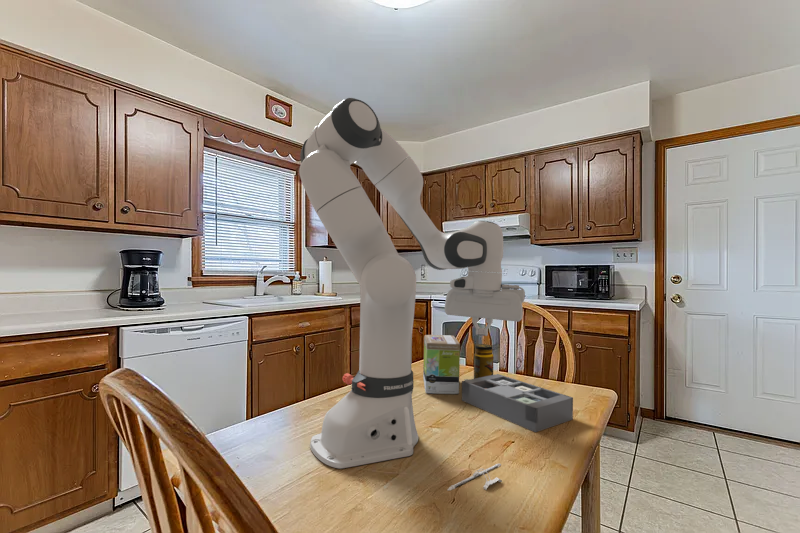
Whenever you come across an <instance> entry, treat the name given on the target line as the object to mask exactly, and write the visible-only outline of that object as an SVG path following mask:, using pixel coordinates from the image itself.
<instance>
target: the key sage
mask: <svg viewBox="0 0 800 533" xmlns="http://www.w3.org/2000/svg"><path fill="white" fill-rule="evenodd" d="M516 400H518V401H520V402H523V403H526V404H530V403H534V402H537V401H534V400H531V399H528V398H525V397H523V398H519V399H516Z"/></svg>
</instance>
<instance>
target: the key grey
mask: <svg viewBox="0 0 800 533" xmlns="http://www.w3.org/2000/svg"><path fill="white" fill-rule="evenodd" d="M496 382H498V383H501V384H504V385H506V384H510V383H512V382H509V381H506V380H500V381H496ZM497 386H498V385H495V384H494V386H493V387H497ZM510 387H513V388H515V385H513V386H510Z"/></svg>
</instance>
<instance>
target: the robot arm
mask: <svg viewBox="0 0 800 533" xmlns="http://www.w3.org/2000/svg"><path fill="white" fill-rule="evenodd" d="M299 154H300V161H301V162H300V166H299V170H298V173H299V178H300V180H301V183H302V186H303V189H304V190H305V194H306V195H307V198H308V200H309V202H310V204H311V206H312V208H313V210H314V211H315V212H316V215H317V216H318V218H319V220H320V221H321V223H322V225H323V227H324V228H325V230H326V231H327V233H328V235H329V236H330V237H329V238H331V240H332V242H333V243H334V245H335V247H336V248H337V250H338V251H339V253H340V255H341V256H342V258H343V260H344V261H345V263H346V264H347V266H348V268H349V270H350V271H351V272H352V274H353V276H354V278H355V279H356V281H357V283H358V284H359V286H360V295H359V296H360V298H359V299H360V302H359V304H360V306H359V307H360V308H359V309H360V310H359V311H360V312H359V316H360V317H359V364H358V366H359V367H358V368H359V370H357V372H356V375H355V376H354V375H352V374H350V373H348V372H347V373H344V374H343V376H342V379H341V380H342V381H343V383H345V384H346V385H349V386H350V385H351V387H350V388H351V390H350V391H349V392H348V393H346V394H345V396H343V397H342V398H341V399H340V400H339V401H337V403H336V404H334V405H333V406H332V407H331V408H330V409H329V410H327V412H326V413H325V415H324V418H323V420H322V426H321V432H320V433H318V434H315V435H312V436H311V439H310V445H309V447H310V450H311V452H312V453H313V455H314V456H315V457H316V458H317V459H318V460H319V461H320V462H322V463H323V464H324V465H327V466H328V467H332V468H336V469H345V468H346V469H347V468H351V467H357V466H362V465H367V464H373V463H378V462H384V461H389V460H390V461H391V460H395V459H399V458H405V457H410V456H412V455H413V454H414V447H415V445H417V443H418V442H419V434H418V431H417V427H416V422H415V416H414V408H413V406H414V405H413V392H414V371H413V370H412V364H413V363H412V361H413V360H412V358H413V357H412V356H413V353H412V351H413V348H412V346H413V339H412V338H413V328H414V318H415V308H416V307H415V306H416V294H417V275H416V271H415V269H414V267H413V265H412V264H411V263H410V262H409V260H408V259H406V258H404V257H403V256H401V255H400V254H399V253H398V251H397V249H396V247H395V245H394V243H393V241H392V239H391V237H390V235H389V234H388V231H387V229H386V227H385V225H384V223H383V221H382V219H381V217H380V215H379V213H378V212H377V210H376V208H375V207H374V205H373V203H372V201H371V200H370V198H369V196H368V194H367V192H366V191H365V189H364V188H363V186H362V184H361V183H360V181H359V179H358V178H357V176H356V175H355V174H354V172H353V170H352V169H351V165H352V164H355V165H357V166H359V167H360V168H361V169H362V171H363V172H364V173H365V175H366V176H367V178H368V179H369V181H370V182H371V183H372V184H373V186H374V187H375V188H376V189H377V190H378V192H379V193H380V194H381V195H382V196H383V198H385V199H386V201H387V202H388V203H389V204H390V205H391V207H392V209H393V210H394V211H395V212H396V214H397V215H398V216H399V217H400V219H401V220H402V222H403V223H404V225H405V226H406V227H407V229H408V230H409V231H410V233H411V234H412V235H413V237H414V238H415V240H416V241H417V243H418V244H419V247H420V249H421V253H422V255H423V259H424V260H425V262H426V263H427V265H428V266H429V267H431V268H433V269H434V270H437V271H441V270H442V271H445V270H459V269H460V270H461V269H466V268H467V276H461V277H459V278H455V279H451V280H450V282H449V286H450V288H449V290H448V291H447V293H446V297H445V302H444V312H445V314H446V315H447V316H457V317H466V318H471V322H472V325H473V327H474V328H475V336H483V337H487V336H488V332H489V329H490V327H491V325H492V324H493V320H496V321H497V320H498V321H507V322H508V321H509V322H520V321H521V320H522V319H523V318H524V317H523V311H524V310H523V308H524V307H523V302H524V301H525V297H526V291H525V289H524V288H523V287H522V286H520V285H518V284H513V285H512V284H503V283H502V281H503V280H502V279H503V268H502V261H503V258H504V234H503V229H502V227H501V226H500V225H499V224H498V223H495V222H492V221H488V220H487V221H486V220H476V221H474V222H473V223H472V224H470V225H469V226H468V225H467V227H464V228H462V229H459V230H456V231H451V232H448V233H447V232H446V233H445V232H442V231H440V230H439V229H438V228H437V227H436V225H435V223H434V222H433V221H432V219H431V218H430V217H429V216H428V214H427V213H426V211H425V210H424V208H423V206H422V202H421V194H422V191H423V187H424V178H423V174H422V172H421V170H420V169H419V167H418V165H417V164H416V163H415V161H414V160H413V159H412V157H411V156H410V155H409V154H408V153H407V151H406V150H405V149H404V148H403V147H402V145H401V144H399V143H398V141H397V140H396V139H394V137H392V136H391V135H390V134H389V133H388V132H387V131H386V130H384V129H383V128H382V127H381V123H380V120H379V118H378V116H377V114H376V112H375V110H374V109H373V108H372V106H370V105H369V104H368V103H367V102H365V101H363V100H360V99H357V98H355V97H348V98H346V99H343V100H341V101H340V102H339V103H337V104H336V105H334V107H333V108H332V110H331V111H330V112H329V113H328V114H326V116H325V117H323V119H322V120H321V121H320V122H318V123H317V124H316V126H315V127H314V129H313V130H312V132H311V134H309V137H307V139H306V140H305V141H304V142H303V145H302V147H301V150H300V153H299ZM479 319H485V322H486V323H487V324H486V325H485V327H480V326H479V324H478V322H479V321H480V320H479Z"/></svg>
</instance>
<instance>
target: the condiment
mask: <svg viewBox="0 0 800 533" xmlns="http://www.w3.org/2000/svg"><path fill="white" fill-rule="evenodd" d="M474 348H475V349H474V351H475V352H474V354H473V379H475V378H480V377H485V376H490V375H494V354H493V346H492V345H491V344H487V343H478V344H475V347H474ZM465 380H470V378H466V379H465V378H464V380H463V381H465Z"/></svg>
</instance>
